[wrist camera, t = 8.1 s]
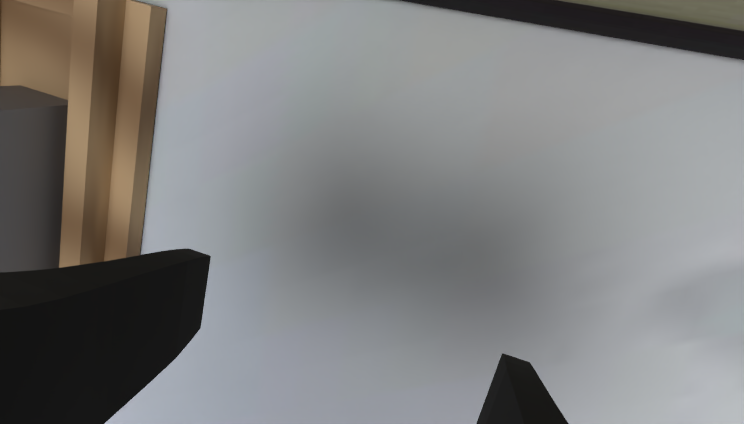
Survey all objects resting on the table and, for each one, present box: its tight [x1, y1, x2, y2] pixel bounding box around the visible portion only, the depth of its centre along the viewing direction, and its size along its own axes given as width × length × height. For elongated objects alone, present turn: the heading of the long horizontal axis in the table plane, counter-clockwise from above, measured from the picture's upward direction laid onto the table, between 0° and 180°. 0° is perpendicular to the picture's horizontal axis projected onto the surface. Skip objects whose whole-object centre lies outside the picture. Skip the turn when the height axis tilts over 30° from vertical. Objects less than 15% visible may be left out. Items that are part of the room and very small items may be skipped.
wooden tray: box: [0, 0, 167, 268], centre depth 24 cm, size 20×9×2 cm, turn 166°
